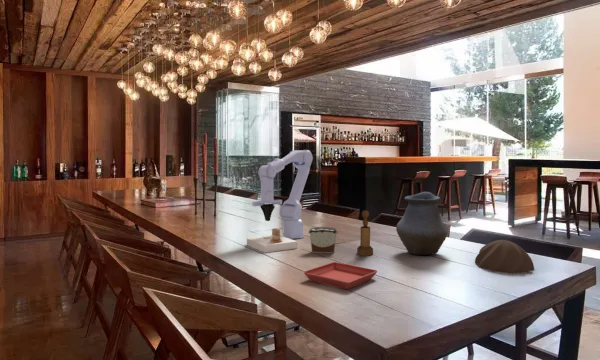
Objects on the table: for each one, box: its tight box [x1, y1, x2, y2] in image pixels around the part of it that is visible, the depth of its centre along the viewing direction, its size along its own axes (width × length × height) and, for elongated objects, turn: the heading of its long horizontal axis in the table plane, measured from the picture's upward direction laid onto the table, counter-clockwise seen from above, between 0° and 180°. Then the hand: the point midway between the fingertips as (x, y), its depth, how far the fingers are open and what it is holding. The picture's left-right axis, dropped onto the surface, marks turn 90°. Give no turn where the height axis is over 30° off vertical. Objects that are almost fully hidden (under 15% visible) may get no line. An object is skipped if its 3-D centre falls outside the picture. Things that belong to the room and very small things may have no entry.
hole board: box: [246, 234, 298, 253], centre depth 191 cm, size 16×18×3 cm
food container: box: [308, 226, 339, 254], centre depth 182 cm, size 12×6×10 cm, turn 84°
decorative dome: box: [474, 239, 535, 275], centre depth 157 cm, size 19×20×10 cm
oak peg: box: [270, 227, 282, 243], centre depth 187 cm, size 5×5×8 cm
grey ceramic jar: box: [395, 191, 448, 256], centre depth 178 cm, size 21×22×25 cm
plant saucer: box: [303, 261, 378, 290], centre depth 141 cm, size 18×18×3 cm
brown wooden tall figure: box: [356, 209, 374, 256], centre depth 176 cm, size 7×6×18 cm
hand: (267, 220), depth 198 cm, fingers closed
